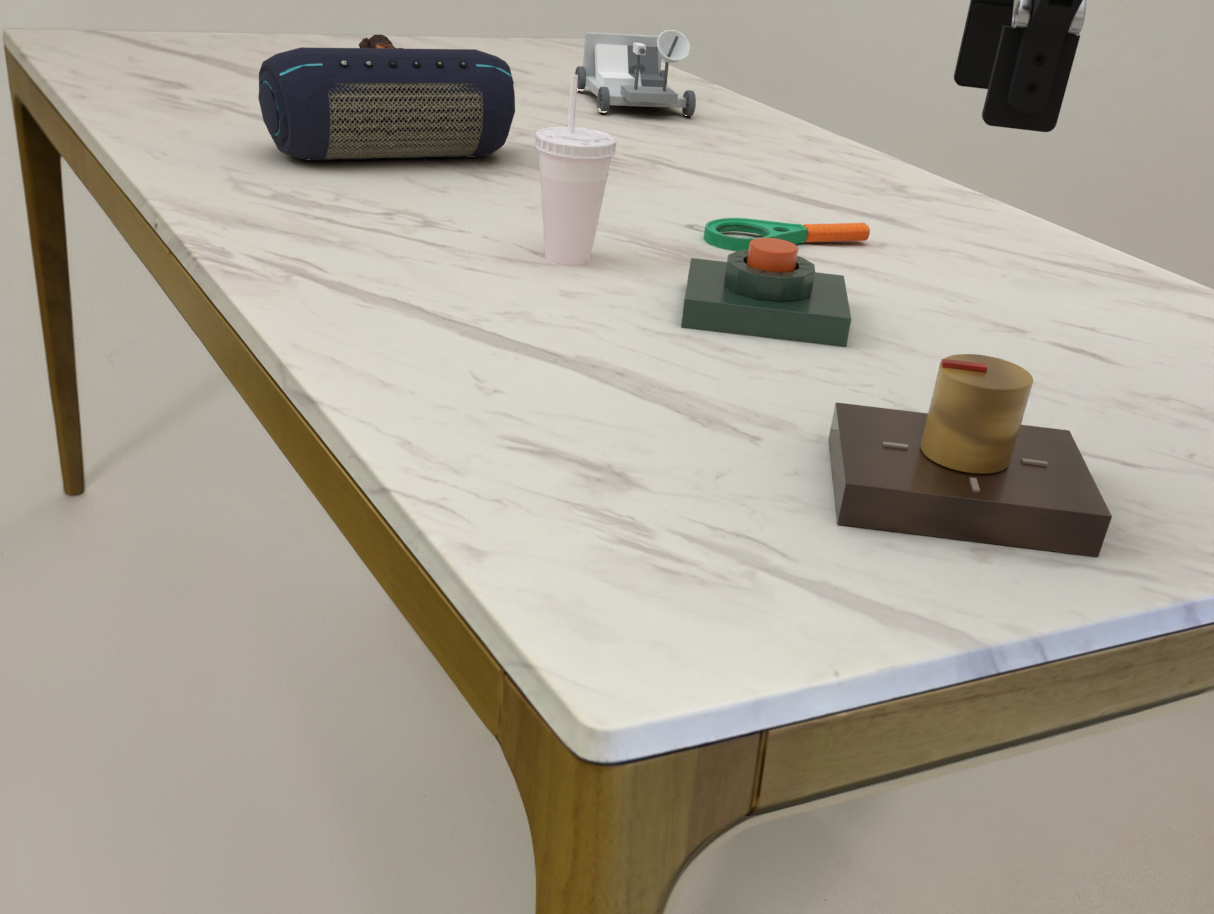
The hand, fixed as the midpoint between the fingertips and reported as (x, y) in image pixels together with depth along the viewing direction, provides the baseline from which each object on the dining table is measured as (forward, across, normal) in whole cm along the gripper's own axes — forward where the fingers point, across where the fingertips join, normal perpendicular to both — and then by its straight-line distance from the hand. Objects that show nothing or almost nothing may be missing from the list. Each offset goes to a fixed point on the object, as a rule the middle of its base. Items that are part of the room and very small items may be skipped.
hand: (999, 106), depth 60 cm
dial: (+19, +1, -3) cm, 19 cm away
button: (+18, +28, +8) cm, 34 cm away
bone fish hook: (+21, +102, +51) cm, 116 cm away
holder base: (+21, +1, -3) cm, 21 cm away
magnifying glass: (+21, +48, +6) cm, 53 cm away
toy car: (+21, +100, +24) cm, 105 cm away
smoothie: (+21, +36, +24) cm, 48 cm away
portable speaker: (+22, +62, +45) cm, 80 cm away
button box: (+21, +28, +8) cm, 36 cm away
